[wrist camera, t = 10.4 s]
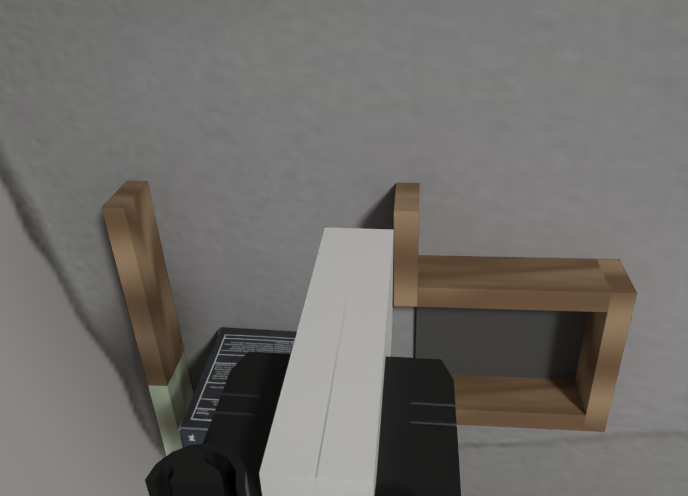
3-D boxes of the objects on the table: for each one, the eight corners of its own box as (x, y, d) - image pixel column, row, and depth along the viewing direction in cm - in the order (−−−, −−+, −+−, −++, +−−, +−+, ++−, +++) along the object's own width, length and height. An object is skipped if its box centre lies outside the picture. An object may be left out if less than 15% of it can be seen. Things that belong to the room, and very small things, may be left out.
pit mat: (417, 273, 45) (417, 275, 45) (593, 277, 44) (594, 280, 43) (415, 370, 49) (415, 372, 49) (574, 376, 48) (575, 379, 48)
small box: (226, 387, 53) (186, 493, 44) (218, 324, 49) (172, 425, 40) (353, 396, 52) (339, 506, 43) (353, 332, 48) (337, 438, 39)
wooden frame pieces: (126, 181, 44) (101, 207, 40) (635, 184, 40) (655, 214, 36) (183, 422, 55) (167, 458, 52) (581, 442, 52) (592, 483, 48)
